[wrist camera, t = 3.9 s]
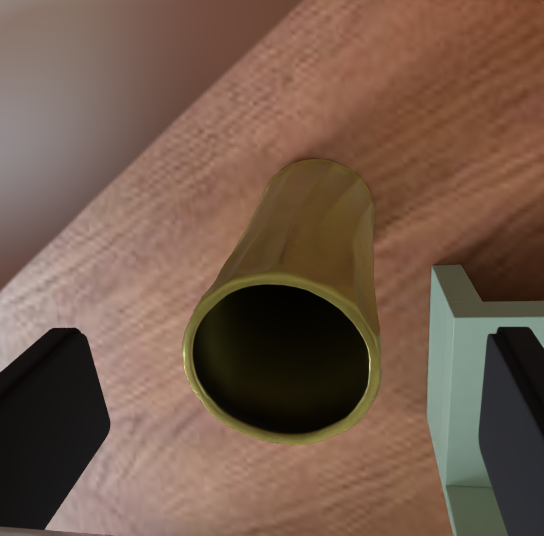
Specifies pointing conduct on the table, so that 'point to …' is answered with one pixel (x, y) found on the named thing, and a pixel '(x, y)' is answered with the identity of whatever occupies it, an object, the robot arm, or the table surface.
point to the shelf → (465, 392)
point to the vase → (293, 313)
